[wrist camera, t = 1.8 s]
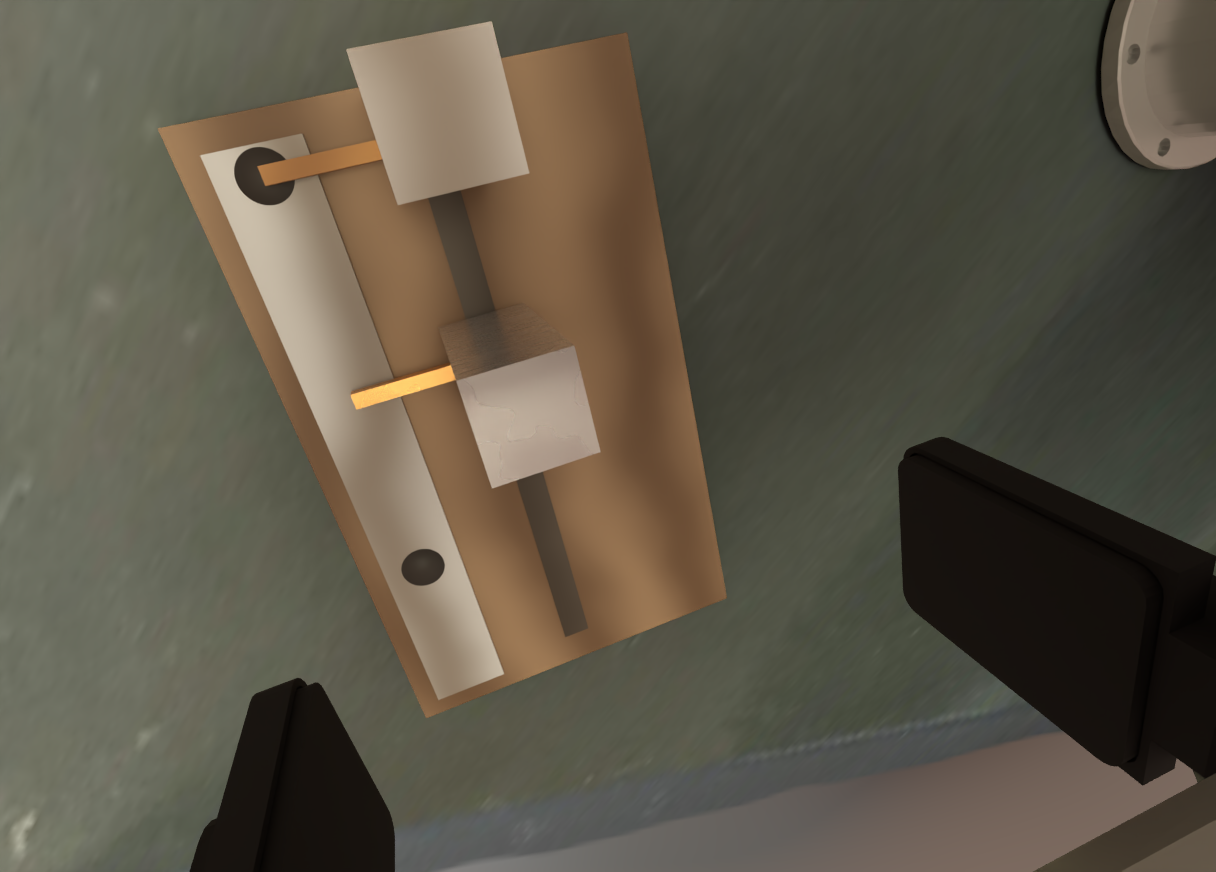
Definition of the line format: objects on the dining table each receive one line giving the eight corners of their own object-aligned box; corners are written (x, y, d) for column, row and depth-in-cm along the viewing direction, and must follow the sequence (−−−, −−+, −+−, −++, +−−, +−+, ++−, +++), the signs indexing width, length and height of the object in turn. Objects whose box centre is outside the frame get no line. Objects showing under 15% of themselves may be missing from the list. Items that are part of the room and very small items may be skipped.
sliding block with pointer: (523, 302, 25) (574, 345, 18) (545, 383, 27) (600, 451, 20) (337, 355, 24) (313, 424, 17) (370, 437, 25) (361, 532, 18)
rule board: (610, 43, 25) (729, -39, 16) (710, 577, 36) (816, 705, 27) (176, 134, 22) (29, 92, 13) (424, 689, 33) (435, 876, 24)
